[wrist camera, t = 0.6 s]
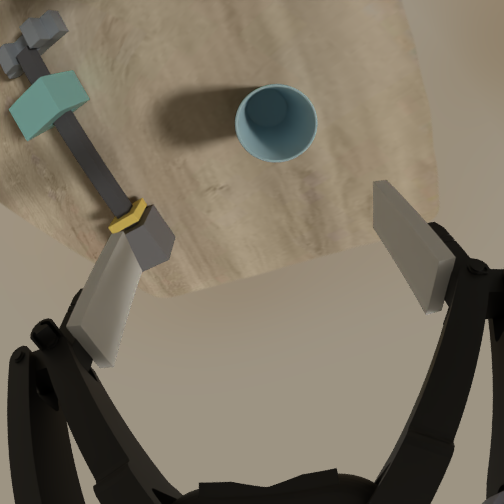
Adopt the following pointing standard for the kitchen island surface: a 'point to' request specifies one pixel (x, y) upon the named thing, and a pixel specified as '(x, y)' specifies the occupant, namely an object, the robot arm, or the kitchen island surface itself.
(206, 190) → the kitchen island surface
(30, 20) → the grey stepped brick
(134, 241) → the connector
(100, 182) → the dark grey long bar
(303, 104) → the cup
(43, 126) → the sleeve
